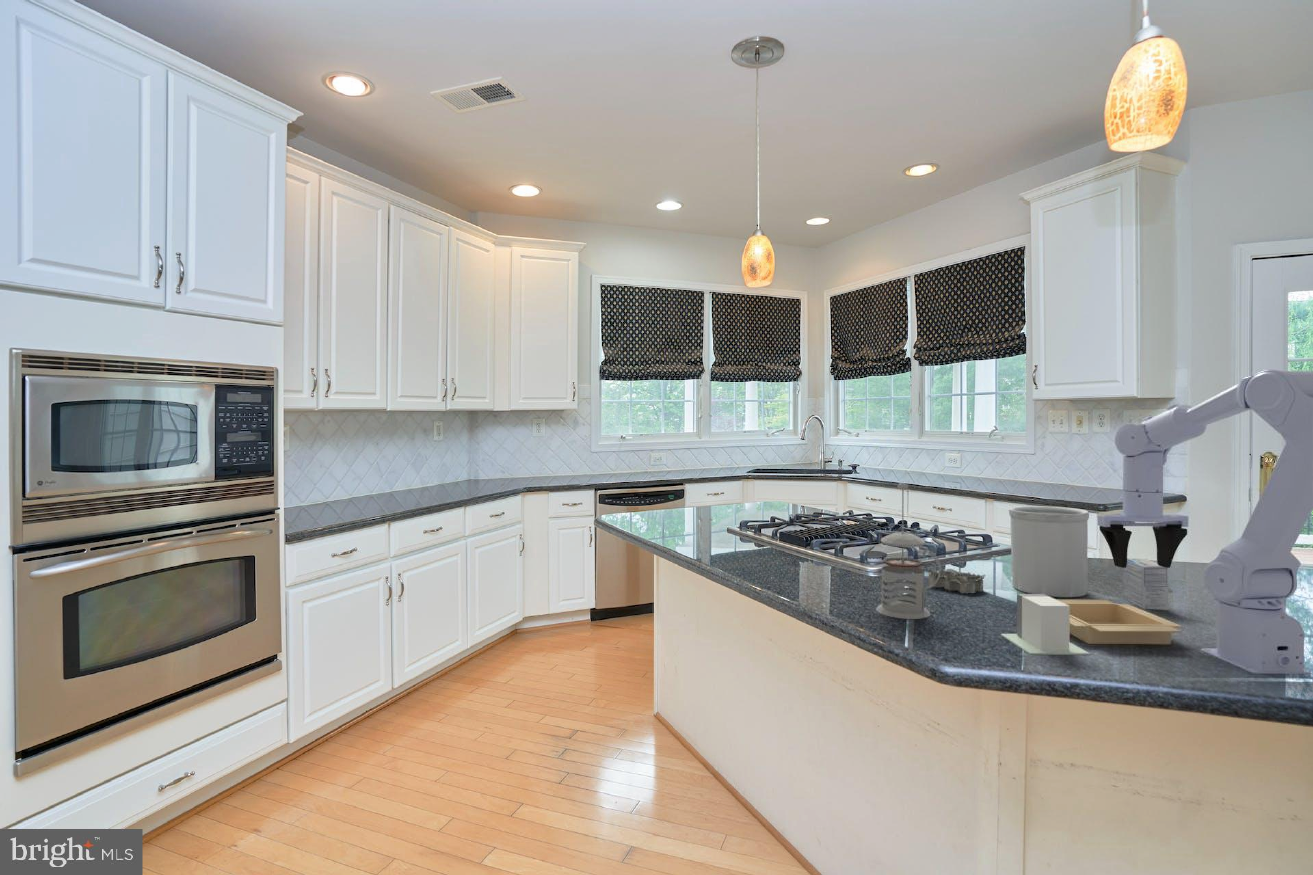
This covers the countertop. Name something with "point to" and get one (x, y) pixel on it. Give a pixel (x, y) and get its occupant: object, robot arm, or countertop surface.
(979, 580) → the egg carton
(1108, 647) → the countertop surface
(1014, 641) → the mat
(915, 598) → the french press
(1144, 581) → the medicine box
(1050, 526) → the utensil holder
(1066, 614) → the grey box
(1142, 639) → the tan flat tray
